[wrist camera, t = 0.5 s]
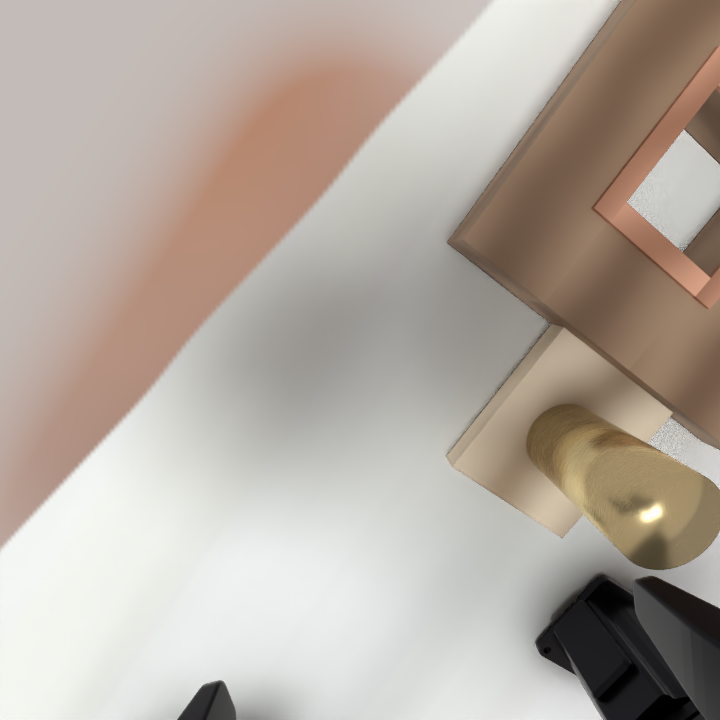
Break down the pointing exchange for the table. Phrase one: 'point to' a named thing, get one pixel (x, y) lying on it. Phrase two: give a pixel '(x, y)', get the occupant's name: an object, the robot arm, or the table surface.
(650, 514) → the brass peg
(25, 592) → the table surface
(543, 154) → the walnut board
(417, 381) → the table surface
